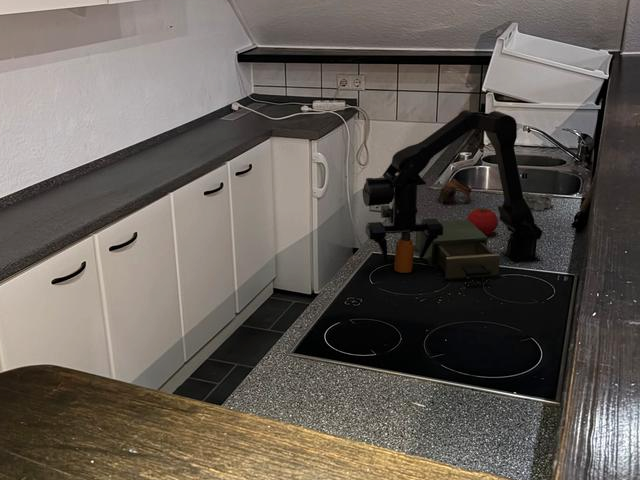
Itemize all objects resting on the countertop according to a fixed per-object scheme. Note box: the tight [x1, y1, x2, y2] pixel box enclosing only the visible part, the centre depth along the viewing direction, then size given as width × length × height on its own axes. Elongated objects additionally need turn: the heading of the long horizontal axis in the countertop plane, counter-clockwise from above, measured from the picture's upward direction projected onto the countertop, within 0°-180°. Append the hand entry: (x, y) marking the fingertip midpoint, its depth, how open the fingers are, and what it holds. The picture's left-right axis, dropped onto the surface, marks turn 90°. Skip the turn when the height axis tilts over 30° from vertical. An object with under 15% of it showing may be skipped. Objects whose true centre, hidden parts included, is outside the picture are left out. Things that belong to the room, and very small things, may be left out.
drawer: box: [435, 241, 501, 280], centre depth 192 cm, size 18×13×5 cm
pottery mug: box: [437, 178, 473, 204], centre depth 247 cm, size 12×10×8 cm
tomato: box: [466, 207, 499, 236], centre depth 218 cm, size 9×9×8 cm
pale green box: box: [415, 219, 488, 268], centre depth 204 cm, size 15×15×7 cm
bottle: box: [393, 232, 415, 274], centre depth 194 cm, size 5×5×10 cm
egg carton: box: [522, 191, 554, 211], centre depth 241 cm, size 11×8×4 cm
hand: (403, 260), depth 195 cm, fingers open, 9 cm apart
